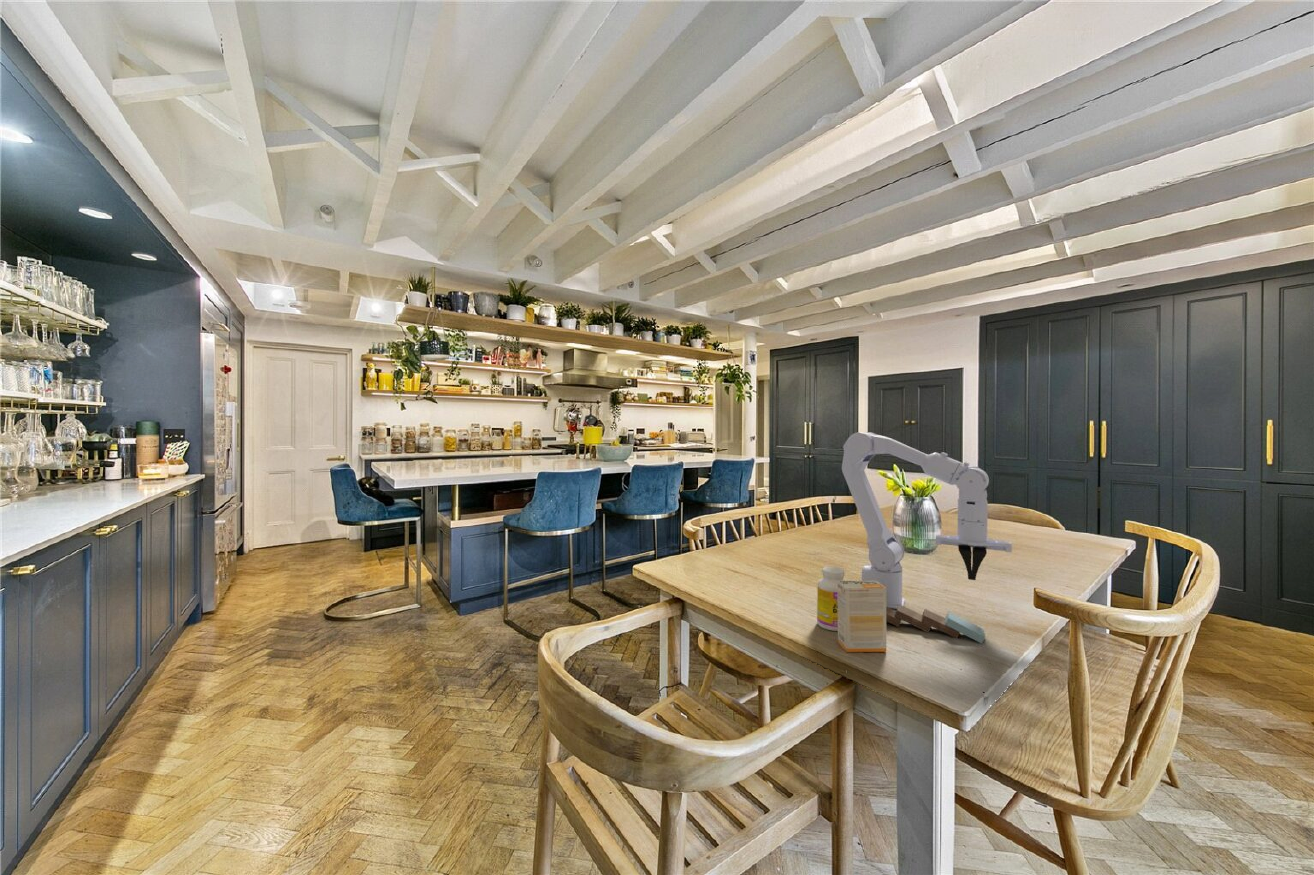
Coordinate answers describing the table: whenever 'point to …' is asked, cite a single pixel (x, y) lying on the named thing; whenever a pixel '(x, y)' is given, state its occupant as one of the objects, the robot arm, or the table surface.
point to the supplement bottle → (828, 598)
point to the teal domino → (965, 627)
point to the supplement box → (862, 616)
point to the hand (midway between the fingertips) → (971, 578)
